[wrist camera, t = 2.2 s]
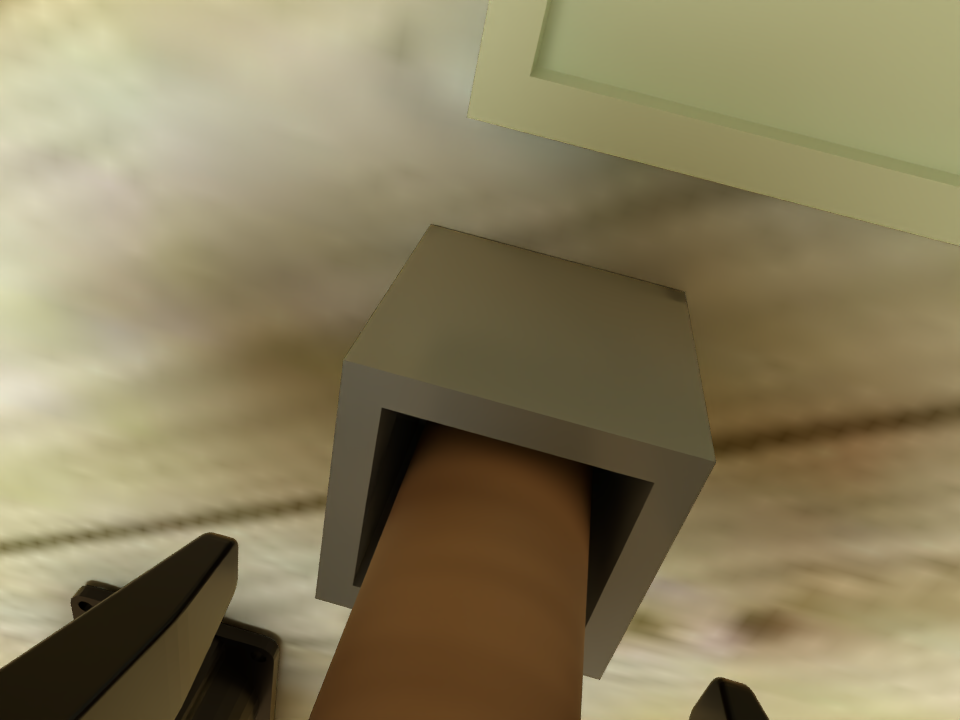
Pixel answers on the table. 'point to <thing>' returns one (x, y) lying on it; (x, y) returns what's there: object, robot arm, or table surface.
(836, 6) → the tray
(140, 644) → the robot arm
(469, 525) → the dowel
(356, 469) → the pen cup
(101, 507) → the table surface
